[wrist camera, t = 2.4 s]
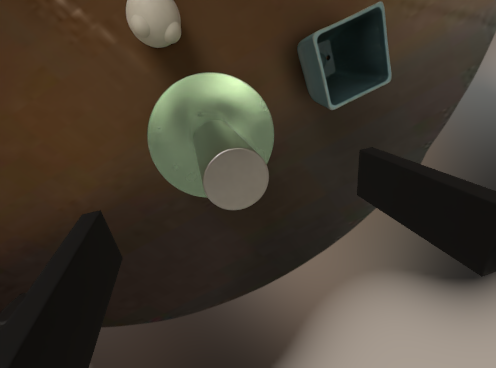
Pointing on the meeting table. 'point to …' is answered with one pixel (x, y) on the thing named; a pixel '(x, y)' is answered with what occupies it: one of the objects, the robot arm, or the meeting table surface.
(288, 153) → the meeting table surface
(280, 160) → the meeting table surface
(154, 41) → the paper ball
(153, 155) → the bin lid
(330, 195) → the meeting table surface
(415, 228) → the robot arm
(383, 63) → the flower pot
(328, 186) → the meeting table surface
